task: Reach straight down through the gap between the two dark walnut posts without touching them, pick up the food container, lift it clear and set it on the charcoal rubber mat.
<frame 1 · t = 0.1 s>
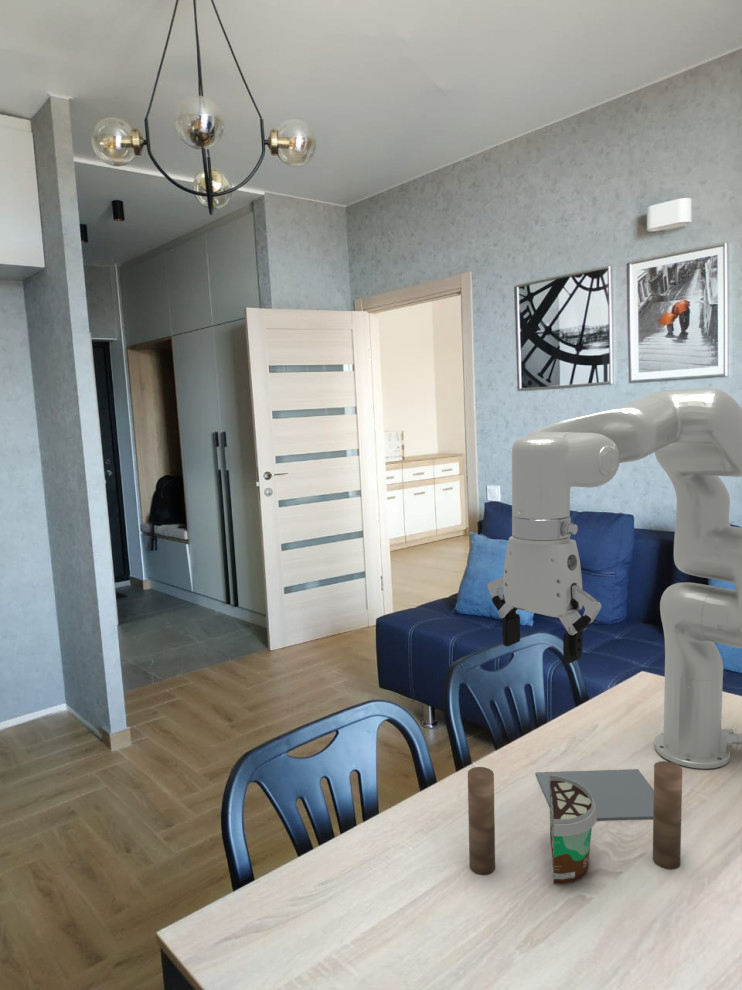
hand: (540, 651, 96), 31 cm above the table, tool pointing down, fingers open, 9 cm apart
walnut post 2: (482, 866, 99), on the table
food container: (574, 865, 99), on the table
charcoal mat: (599, 795, 116), on the table
walnut post 1: (666, 860, 99), on the table
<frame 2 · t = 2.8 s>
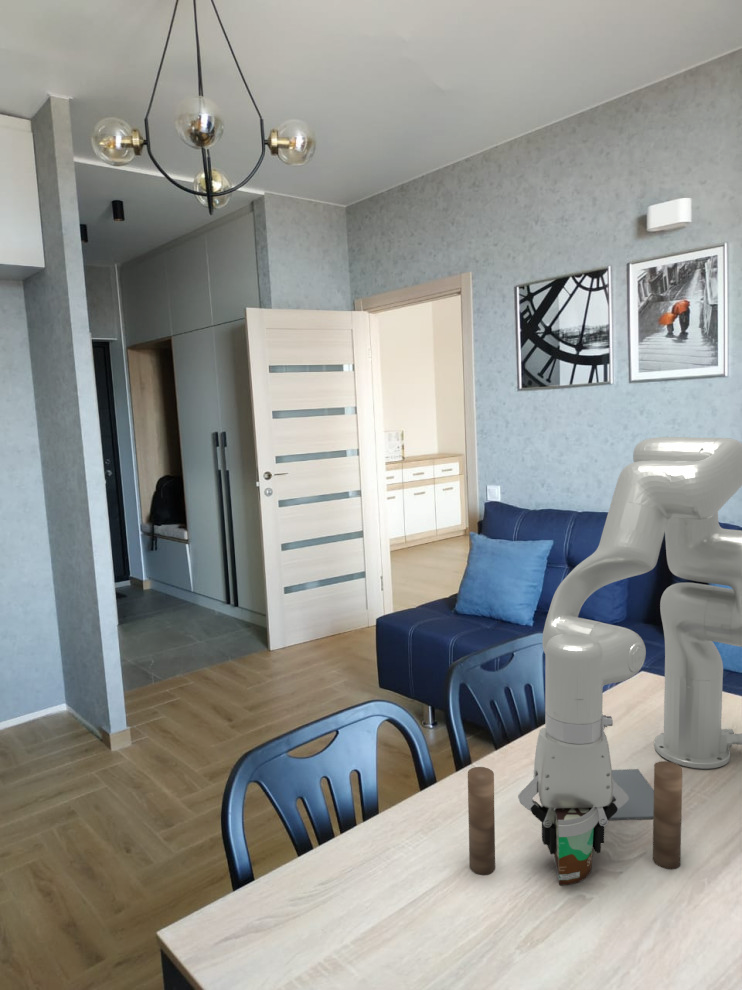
hand: (572, 846, 98), 3 cm above the table, tool pointing down, fingers closed on food container, 5 cm apart
food container: (577, 864, 99), on the table, touching gripper
everything else where it was.
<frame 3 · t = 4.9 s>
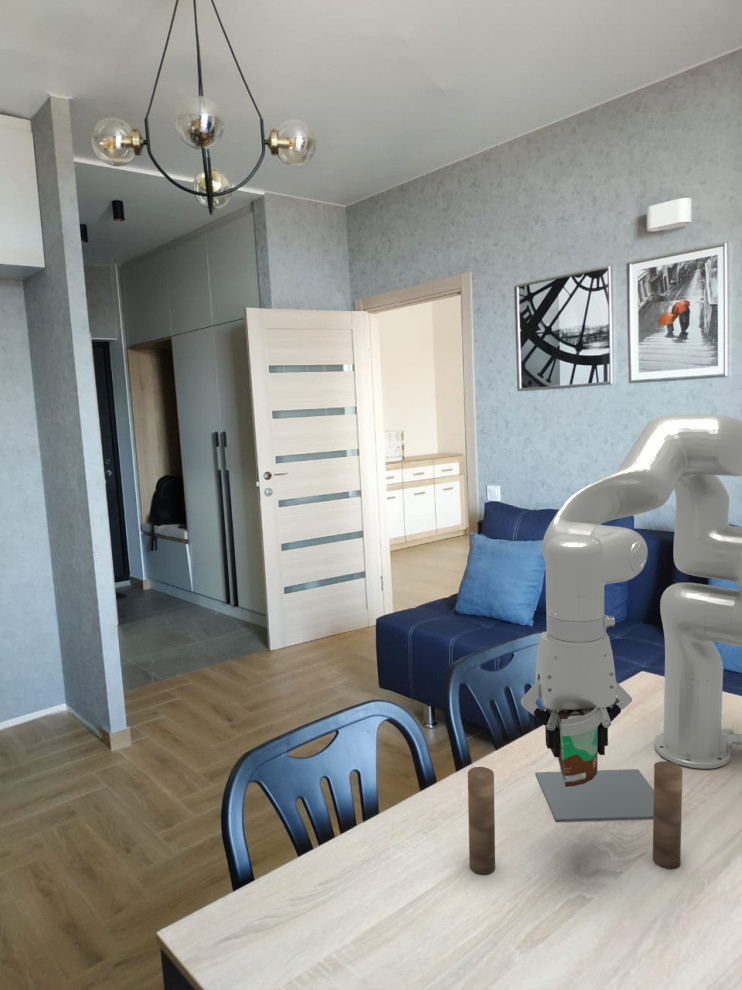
hand: (576, 750, 97), 17 cm above the table, tool pointing down, fingers closed on food container, 5 cm apart
food container: (583, 769, 98), point 14 cm above the table, touching gripper
everything else where it was.
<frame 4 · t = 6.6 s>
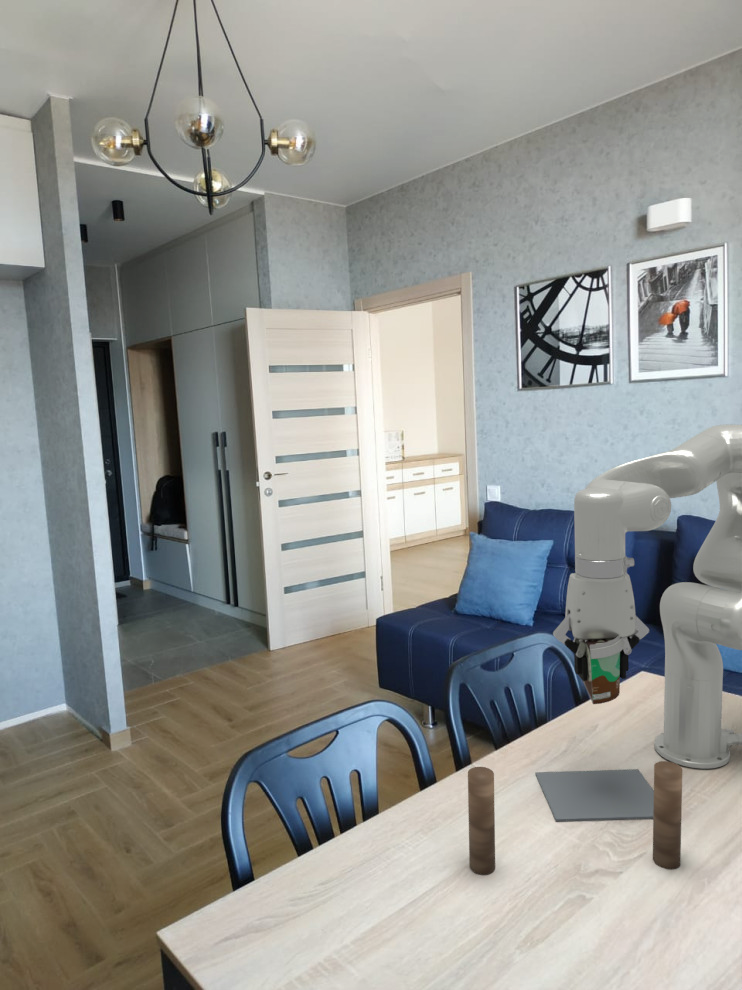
hand: (601, 675, 112), 21 cm above the table, tool pointing down, fingers closed on food container, 5 cm apart
food container: (606, 691, 113), point 18 cm above the table, touching gripper
everything else where it was.
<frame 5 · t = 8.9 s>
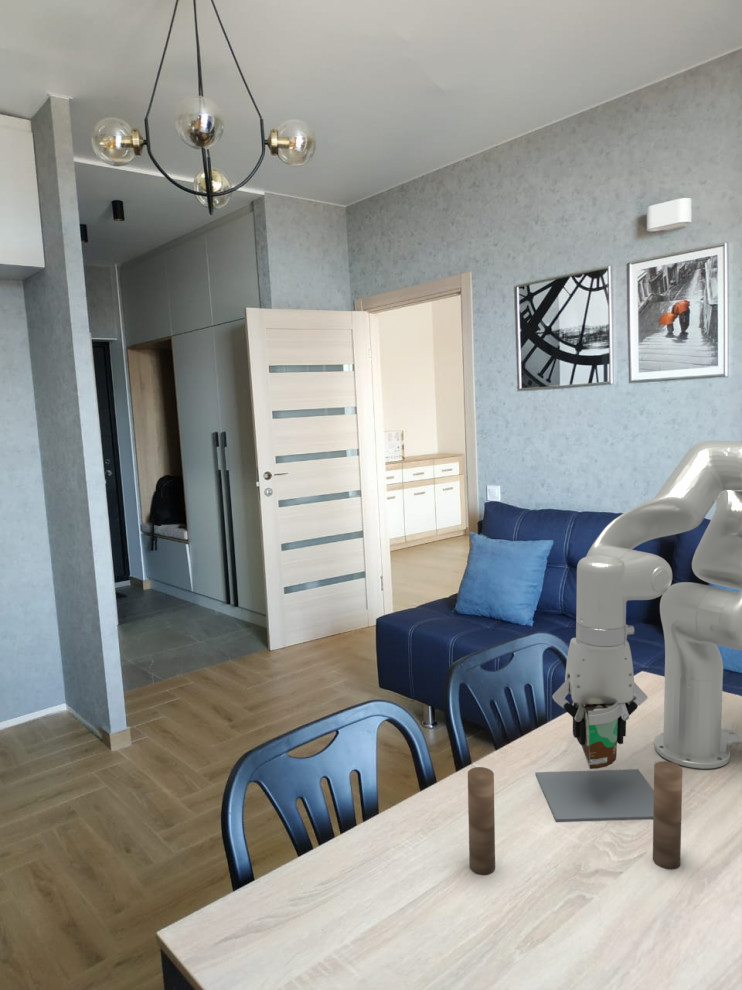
hand: (598, 739, 114), 10 cm above the table, tool pointing down, fingers closed on food container, 5 cm apart
food container: (603, 755, 115), point 7 cm above the table, touching gripper
everything else where it was.
when the fingers open (4 cm above the table, at t = 10.4 s): food container drops 1 cm, resting on charcoal mat.
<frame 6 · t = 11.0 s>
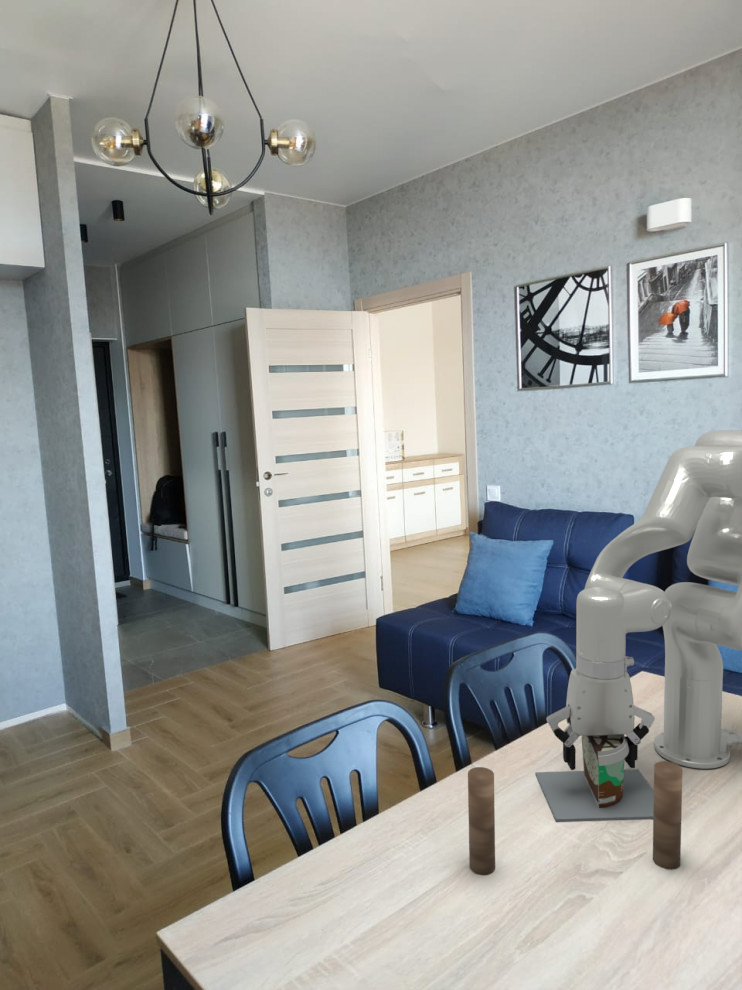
hand: (599, 764, 115), 5 cm above the table, tool pointing down, fingers open, 9 cm apart
food container: (610, 792, 116), resting on charcoal mat
everything else where it was.
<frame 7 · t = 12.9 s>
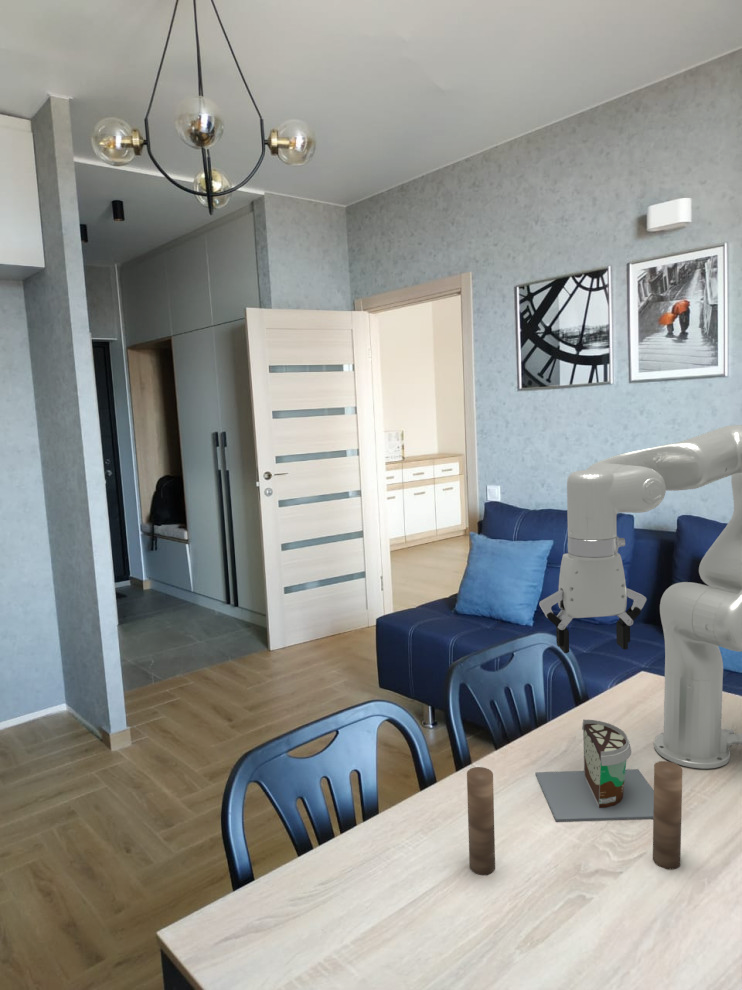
hand: (593, 648, 115), 24 cm above the table, tool pointing down, fingers open, 9 cm apart
nothing on the table moved.
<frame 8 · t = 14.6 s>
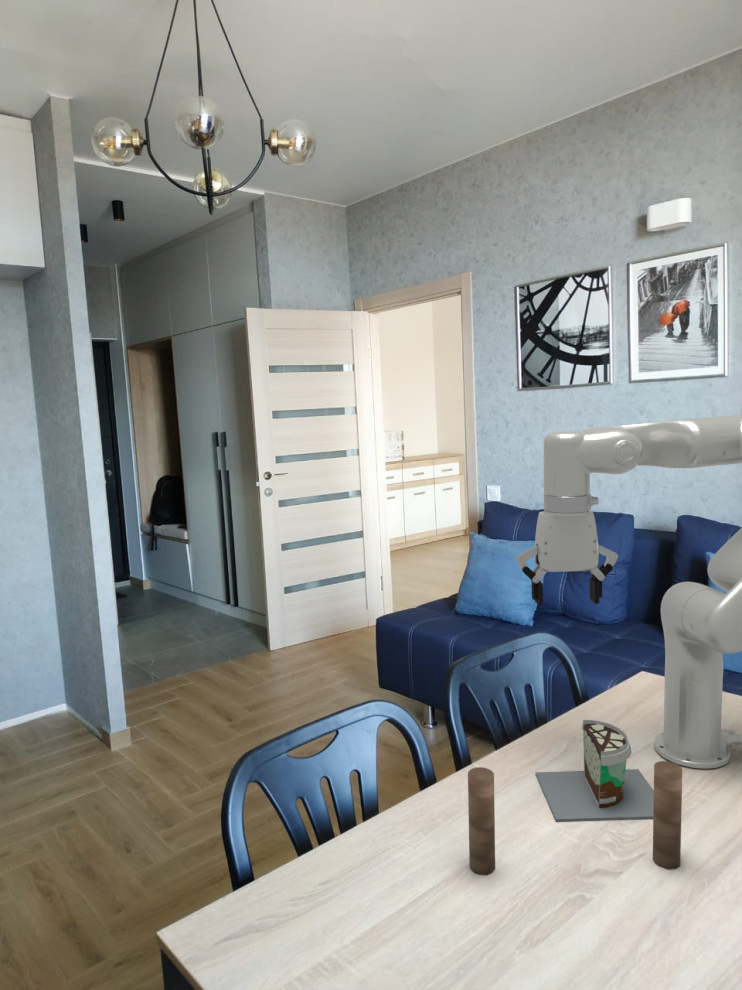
hand: (566, 602, 121), 30 cm above the table, tool pointing down, fingers open, 9 cm apart
nothing on the table moved.
at the end: food container inside the target area on the charcoal mat (1.8 cm from its centre), point 0.2 cm above the charcoal mat's base; walnut post 1 moved 0.0 cm from its start; walnut post 2 moved 0.0 cm from its start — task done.
